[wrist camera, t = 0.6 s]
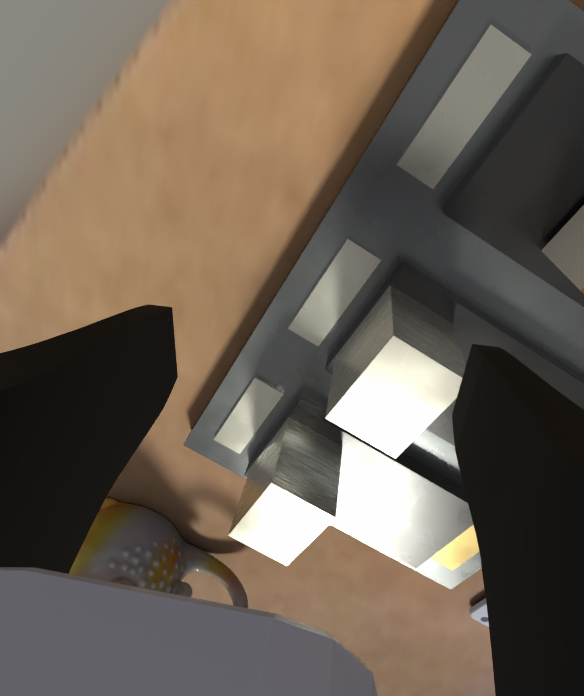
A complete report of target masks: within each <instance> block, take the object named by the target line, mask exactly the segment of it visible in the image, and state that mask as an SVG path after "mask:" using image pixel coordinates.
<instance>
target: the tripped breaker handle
mask: <svg viewBox="0 0 584 696" xmlns="http://www.w3.org/2000/svg"><path fill="white" fill-rule="evenodd" d="M541 251H542V252H543V253H544V254H545V255H546V256H547V257H548V258H549V259H550V260H551V261H552V262H553V263H554V264H555V265H556V266H557V267H558V268H559V269H560V270H561V271H562V272H563V273H564V275H565V276H566V277H567V278H568V279H569V280H570V281H571V282H572V283H573V284H574V285H575V286H576V287H577V288H578V289H579V290H580V291H581V292H582V293H583V294H584V205H583V206H582V207H581V208H580V209H579V211H578V212H577V213H576V214H575V215H574V216H573V217H572V218H571V219H570V220H569V221H568V222H567V223H566V225H565V226H564V227H563V228H562V229H561V230H560V231H559V232H558V233H557V234H556V235H555V236H554V237H553V239H552V240H551V241H550V242H549V243H548V244H547V245H546V246H545V247H544V248H543V249H542V250H541Z"/></svg>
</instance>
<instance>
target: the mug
mask: <svg viewBox="0 0 584 696" xmlns="http://www.w3.org/2000/svg"><path fill="white" fill-rule="evenodd" d="M191 572H201V573H204V574H207V575H209V576H211V577H213V578H215V579H216V580H218V581H219V582H220V583H222V584H223V585H224V586H225V588H226V589H227V591H228V592H229V595H230V597H231V599H232V602H233V606H238V607H243V608H248V600H247V595H246V592H245V590H244V588H243V586H242V584H241V582H240V581H239V579H238V578H237V576H236V575H235V574H234V573H233V572H232V570H231V569H229V568H228V567H227V566H226V565H225V564H223V563H222V562H221V561H219V560H218V559H216V558H215V557H213V556H212V555H210V554H208V553H206V552H205V551H203V550H201V549H199V548H196V547H194V546H192V545H190V544H188V543H186V542H185V541H184V540H183V539H182V538H181V537H180V535H179V533H178V531H177V530H176V528H175V527H174V526H173V525H172V524H171V523H170V522H169V521H168V520H167V519H166V518H164V517H163V516H161V515H160V514H158V513H156V512H154V511H152V510H150V509H147V508H145V507H142V506H138V505H133V504H128V503H121V502H118V501H116V500H115V499H112V498H108V497H107V498H105V500H104V502H103V504H102V506H101V508H100V510H99V512H98V514H97V516H96V518H95V520H94V522H93V524H92V526H91V528H90V530H89V532H88V534H87V536H86V538H85V540H84V542H83V544H82V546H81V548H80V550H79V553H78V555H77V557H76V559H75V561H74V563H73V565H72V567H71V569H70V572H69V574H71V575H76V576H82V577H87V578H92V579H97V580H102V581H108V582H113V583H118V584H123V585H129V586H134V587H139V588H144V589H149V590H155V591H160V592H165V593H170V594H176V595H181V596H186V597H191V596H192V588H191V586H190V585H189V584H188V583H186V582H181V581H182V580H183V578H184V577H185V576H186V575H188V574H189V573H191Z"/></svg>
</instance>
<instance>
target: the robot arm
mask: <svg viewBox="0 0 584 696" xmlns="http://www.w3.org/2000/svg"><path fill="white" fill-rule="evenodd" d="M177 377H178V376H177V363H176V351H175V338H174V326H173V313H172V307H164V306H156V305H145V306H140V307H137V308H134V309H131V310H128V311H125V312H122V313H119V314H117V315H114V316H111V317H109V318H106V319H103V320H101V321H98V322H95V323H93V324H90V325H88V326H85V327H82V328H80V329H77V330H74V331H71V332H68V333H65V334H62V335H59V336H56V337H53V338H50V339H48V340H45V341H42V342H39V343H36V344H32V345H29V346H26V347H22V348H19V349H15V350H11V351H7V352H3V353H0V696H377V691H376V687H375V682H374V678H373V673H372V671H371V670H370V669H369V668H368V667H367V666H366V665H365V664H364V663H363V662H362V661H361V660H360V659H359V658H358V657H357V656H355V655H354V654H353V653H352V652H351V651H349V650H348V649H347V648H346V647H345V646H344V645H342V644H341V643H340V642H339V641H338V640H336V639H335V638H334V637H333V636H332V635H330V634H329V633H328V632H326V631H323V630H320V629H317V628H315V627H312V626H309V625H306V624H303V623H301V622H298V621H295V620H292V619H289V618H286V617H284V616H281V615H278V614H275V613H270V612H264V611H259V610H254V609H249V608H243V607H238V606H233V605H228V604H223V603H217V602H212V601H207V600H202V599H196V598H191V597H186V596H181V595H176V594H170V593H165V592H160V591H155V590H149V589H144V588H139V587H134V586H129V585H123V584H118V583H113V582H108V581H102V580H97V579H92V578H87V577H82V576H76V575H71V574H69V572H70V569H71V567H72V565H73V563H74V561H75V559H76V557H77V555H78V553H79V550H80V548H81V546H82V544H83V542H84V540H85V538H86V536H87V534H88V532H89V530H90V528H91V526H92V524H93V522H94V520H95V518H96V516H97V514H98V512H99V510H100V508H101V506H102V504H103V502H104V500H105V498H106V497H107V495H108V493H109V491H110V489H111V488H112V486H113V484H114V483H115V481H116V479H117V478H118V476H119V475H120V473H121V472H122V470H123V469H124V467H125V466H126V464H127V463H128V461H129V460H130V458H131V457H132V455H133V454H134V452H135V451H136V449H137V448H138V446H139V445H140V443H141V442H142V440H143V439H144V437H145V436H146V434H147V433H148V431H149V430H150V428H151V427H152V425H153V424H154V422H155V420H156V419H157V417H158V416H159V414H160V413H161V411H162V410H163V408H164V406H165V404H166V402H167V400H168V398H169V395H170V393H171V391H172V389H173V386H174V384H175V382H176V380H177ZM452 422H453V434H454V444H455V452H456V456H457V461H458V465H459V469H460V473H461V477H462V481H463V485H464V489H465V493H466V497H467V501H468V505H469V509H470V513H471V517H472V521H473V525H474V529H475V533H476V537H477V542H478V547H479V552H480V558H481V566H482V573H483V581H484V588H485V595H486V598H485V599H483V600H482V601H480V602H479V603H477V604H475V605H474V606H472V607H471V608H470V610H469V612H470V616H471V617H472V618H473V619H474V620H476V621H478V622H480V623H482V624H484V625H486V626H488V627H489V630H490V639H491V648H492V660H493V671H494V682H495V693H496V696H584V409H582V408H581V407H579V406H578V405H576V404H575V403H574V402H572V401H571V400H570V399H568V398H567V397H565V396H564V395H563V394H561V393H560V392H559V391H557V390H556V389H555V388H554V387H552V386H551V385H550V384H548V383H547V382H546V381H544V380H543V379H542V378H541V377H539V376H538V375H537V374H536V373H534V372H533V371H532V370H530V369H529V368H528V367H527V366H525V365H524V364H523V363H522V362H520V361H519V360H518V359H516V358H515V357H514V356H512V355H511V354H510V353H508V352H507V351H505V350H504V349H502V348H500V347H494V346H485V345H477V344H472V346H471V350H470V353H469V357H468V360H467V364H466V367H465V371H464V374H463V378H462V381H461V385H460V388H459V392H458V395H457V399H456V402H455V406H454V410H453V413H452Z"/></svg>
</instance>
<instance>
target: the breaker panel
mask: <svg viewBox="0 0 584 696" xmlns="http://www.w3.org/2000/svg"><path fill="white" fill-rule="evenodd" d="M583 205H584V11H583V10H581V9H580V8H579V7H578V6H576V5H575V4H574V3H572V2H571V1H570V0H458V1H457V2H456V4H455V6H454V7H453V9H452V10H451V12H450V14H449V15H448V17H447V18H446V20H445V22H444V23H443V25H442V26H441V28H440V30H439V31H438V33H437V35H436V36H435V38H434V39H433V41H432V43H431V44H430V46H429V47H428V49H427V51H426V52H425V54H424V56H423V57H422V59H421V60H420V62H419V64H418V65H417V67H416V68H415V70H414V72H413V73H412V75H411V77H410V78H409V80H408V81H407V83H406V85H405V86H404V88H403V89H402V91H401V93H400V94H399V96H398V98H397V99H396V101H395V102H394V104H393V106H392V107H391V109H390V110H389V112H388V114H387V115H386V117H385V119H384V120H383V122H382V123H381V125H380V127H379V128H378V130H377V131H376V133H375V135H374V136H373V138H372V139H371V141H370V143H369V144H368V146H367V148H366V149H365V151H364V152H363V154H362V156H361V157H360V159H359V160H358V162H357V164H356V165H355V167H354V169H353V170H352V172H351V173H350V175H349V177H348V178H347V180H346V181H345V183H344V185H343V186H342V188H341V190H340V191H339V193H338V194H337V196H336V198H335V199H334V201H333V202H332V204H331V206H330V207H329V209H328V211H327V212H326V214H325V215H324V217H323V219H322V220H321V222H320V223H319V225H318V227H317V228H316V230H315V231H314V233H313V235H312V236H311V238H310V240H309V241H308V243H307V244H306V246H305V248H304V249H303V251H302V252H301V254H300V256H299V257H298V259H297V261H296V262H295V264H294V265H293V267H292V269H291V270H290V272H289V273H288V275H287V277H286V278H285V280H284V282H283V283H282V285H281V286H280V288H279V290H278V291H277V293H276V294H275V296H274V298H273V299H272V301H271V303H270V304H269V306H268V307H267V309H266V311H265V312H264V314H263V315H262V317H261V319H260V320H259V322H258V324H257V325H256V327H255V328H254V330H253V332H252V333H251V335H250V336H249V338H248V340H247V341H246V343H245V344H244V346H243V348H242V349H241V351H240V353H239V354H238V356H237V357H236V359H235V361H234V362H233V364H232V365H231V367H230V369H229V370H228V372H227V374H226V375H225V377H224V378H223V380H222V382H221V383H220V385H219V386H218V388H217V390H216V391H215V393H214V395H213V396H212V398H211V399H210V401H209V403H208V404H207V406H206V407H205V409H204V411H203V412H202V414H201V416H200V417H199V419H198V420H197V422H196V424H195V425H194V427H193V428H192V430H191V432H190V434H189V435H188V437H187V439H186V441H185V443H184V446H186V447H188V448H190V449H192V450H194V451H195V452H197V453H199V454H201V455H203V456H205V457H206V458H208V459H210V460H212V461H214V462H216V463H218V464H219V465H221V466H223V467H225V468H227V469H229V470H230V471H232V472H234V473H236V474H238V475H240V476H242V477H243V478H245V479H247V480H246V483H245V486H244V489H243V492H242V495H241V498H240V501H239V504H238V507H237V510H236V513H235V516H234V519H233V522H232V525H231V528H230V531H229V534H228V536H230V537H232V538H234V539H236V540H238V541H240V542H241V543H243V544H245V545H247V546H249V547H251V548H253V549H255V550H257V551H259V552H261V553H263V554H265V555H266V556H268V557H270V558H272V559H274V560H276V561H278V562H280V563H282V564H284V565H286V566H287V565H289V564H290V563H291V562H292V561H293V560H294V559H295V558H296V557H297V556H298V555H299V554H300V553H301V552H302V551H303V550H304V549H305V548H306V547H307V546H308V545H309V544H310V543H311V542H312V541H313V540H314V539H315V538H316V537H317V536H318V535H319V534H320V533H321V532H322V531H323V530H324V529H325V528H326V527H327V526H328V525H329V524H330V525H332V526H334V527H336V528H338V529H340V530H341V531H343V532H345V533H347V534H349V535H351V536H353V537H354V538H356V539H358V540H360V541H362V542H364V543H365V544H367V545H369V546H371V547H373V548H375V549H377V550H378V551H380V552H382V553H384V554H386V555H388V556H389V557H391V558H393V559H395V560H397V561H399V562H401V563H402V564H404V565H406V566H408V567H410V568H412V569H414V570H415V571H417V572H419V573H421V574H423V575H425V576H426V577H428V578H430V579H432V580H434V581H436V582H438V583H439V584H441V585H443V586H445V587H447V588H449V589H450V590H451V589H452V588H454V587H455V586H457V585H458V584H459V583H461V582H462V581H464V580H465V579H467V578H468V577H470V576H471V575H472V574H474V573H475V572H477V571H478V570H480V569H481V568H482V566H481V558H480V552H479V547H478V542H477V537H476V533H475V529H474V525H473V521H472V517H471V513H470V509H469V505H468V501H467V497H466V493H465V489H464V485H463V481H462V477H461V473H460V469H459V465H458V461H457V456H456V452H455V444H454V434H453V422H452V413H453V410H454V406H455V402H456V399H457V395H458V392H459V388H460V385H461V381H462V378H463V374H464V371H465V367H466V364H467V360H468V357H469V353H470V350H471V346H472V344H477V345H485V346H494V347H500V348H502V349H504V350H505V351H507V352H508V353H510V354H511V355H512V356H514V357H515V358H516V359H518V360H519V361H520V362H522V363H523V364H524V365H525V366H527V367H528V368H529V369H530V370H532V371H533V372H534V373H536V374H537V375H538V376H539V377H541V378H542V379H543V380H544V381H546V382H547V383H548V384H550V385H551V386H552V387H554V388H555V389H556V390H557V391H559V392H560V393H561V394H563V395H564V396H565V397H567V398H568V399H570V400H571V401H572V402H574V403H575V404H576V405H578V406H579V407H581V408H582V409H584V294H583V293H582V292H581V291H580V290H579V289H578V288H577V287H576V286H575V285H574V284H573V283H572V282H571V281H570V280H569V279H568V278H567V277H566V276H565V275H564V273H563V272H562V271H561V270H560V269H559V268H558V267H557V266H556V265H555V264H554V263H553V262H552V261H551V260H550V259H549V258H548V257H547V256H546V255H545V254H544V253H543V252H542V251H541V250H542V249H543V248H544V247H545V246H546V245H547V244H548V243H549V242H550V241H551V240H552V239H553V237H554V236H555V235H556V234H557V233H558V232H559V231H560V230H561V229H562V228H563V227H564V226H565V225H566V223H567V222H568V221H569V220H570V219H571V218H572V217H573V216H574V215H575V214H576V213H577V212H578V211H579V209H580V208H581V207H582V206H583Z"/></svg>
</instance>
